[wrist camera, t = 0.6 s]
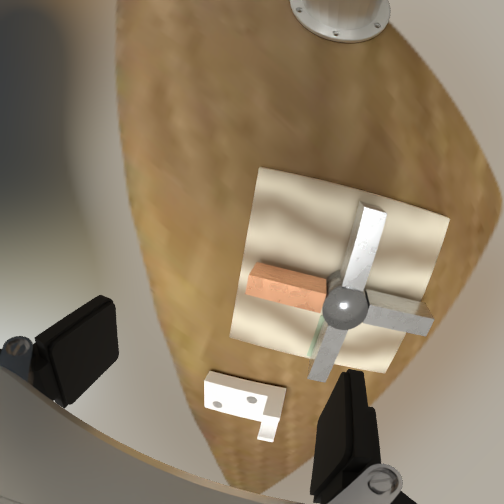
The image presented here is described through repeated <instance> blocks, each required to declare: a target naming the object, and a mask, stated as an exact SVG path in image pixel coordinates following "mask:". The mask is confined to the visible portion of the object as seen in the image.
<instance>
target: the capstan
mask: <svg viewBox="0 0 504 504" xmlns="http://www.w3.org/2000/svg"><path fill="white" fill-rule="evenodd" d="M386 217H387V213H386V212H385V211H384V210H383V209H382V208H381V207H379V206H376V205H372V204H369V203H365V202H362V201H359V205H358V209H357V213H356V217H355V221H354V224H353V228H352V232H351V235H350V239H349V243H348V246H347V250H346V253H345V257H344V260H343V263H342V267H341V270H338V271H335V272H333V273H332V274H330V275H329V276H328V277H327V279H324V278H320V277H316V276H312V275H308V274H304V273H300V272H296V271H291V270H287V269H283V268H279V267H275V266H272V265H268V264H264V263H260V262H256V264H255V265H254V267H253V269H252V270H251V272H250V273H249V276H248V281H247V287H246V292H245V294H247V295H250V296H254V297H258V298H261V299H265V300H269V301H273V302H277V303H281V304H285V305H289V306H293V307H297V308H301V309H305V310H309V311H313V312H317V313H321V310H322V313H323V317H324V322H323V325H322V328H321V330H320V333H319V336H318V339H317V341H316V344H315V347H314V349H313V352H312V355H311V357H310V361H309V369H308V377H307V379H311V380H316V381H320V382H326V380H327V378H328V375H329V373H330V371H331V369H332V367H333V365H334V362H335V360H336V358H337V356H338V353H339V351H340V349H341V346H342V344H343V342H344V339H345V337H346V334H347V332H348V330H349V329H353V328H355V327H357V326H358V325H360V324H361V323H362V322H363V323H364V324H369V325H373V326H378V327H383V328H387V329H392V330H397V331H402V332H407V333H412V334H417V335H422V336H426V335H427V333H428V331H429V329H430V327H431V325H432V323H433V321H434V317H433V316H432V314H431V312H430V310H429V309H428V307H427V305H426V304H425V303H423V302H418V301H414V300H410V299H406V298H402V297H398V296H393V295H389V294H385V293H381V292H377V291H373V290H369V289H366V290H365V292H364V287H365V284H366V282H367V279H368V276H369V273H370V270H371V267H372V264H373V261H374V257H375V254H376V251H377V248H378V245H379V241H380V238H381V235H382V231H383V228H384V224H385V221H386Z"/></svg>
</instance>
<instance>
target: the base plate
mask: <svg viewBox="0 0 504 504" xmlns="http://www.w3.org/2000/svg"><path fill="white" fill-rule="evenodd" d="M359 201H362V202H365V203H369V204H372V205H376V206H379V207H381V208H382V209H383V210H384V211H385V212H386V213H387V217H386V221H385V224H384V228H383V231H382V235H381V238H380V241H379V245H378V248H377V251H376V254H375V257H374V261H373V264H372V267H371V270H370V273H369V276H368V279H367V282H366V284H365V287H364V292H365V290H366V289H369V290H373V291H377V292H381V293H385V294H389V295H393V296H398V297H402V298H406V299H410V300H414V301H418V302H420V301H421V299H422V297H423V294H424V292H425V289H426V287H427V284H428V282H429V279H430V277H431V274H432V271H433V269H434V266H435V263H436V260H437V258H438V255H439V252H440V249H441V246H442V243H443V240H444V237H445V233H446V230H447V227H448V223H449V220H450V218H448V217H446V216H444V215H441V214H438V213H435V212H432V211H429V210H426V209H423V208H420V207H417V206H414V205H411V204H407V203H404V202H401V201H398V200H394V199H391V198H388V197H384V196H381V195H377V194H374V193H370V192H367V191H363V190H359V189H356V188H352V187H348V186H344V185H340V184H336V183H332V182H328V181H324V180H320V179H316V178H312V177H307V176H303V175H298V174H294V173H289V172H284V171H280V170H275V169H270V168H265V167H259V171H258V177H257V182H256V188H255V194H254V199H253V205H252V210H251V216H250V222H249V227H248V233H247V239H246V244H245V250H244V256H243V262H242V267H241V273H240V279H239V285H238V291H237V296H236V302H235V308H234V314H233V320H232V326H231V332H230V338H234V339H237V340H241V341H244V342H248V343H251V344H255V345H258V346H262V347H266V348H270V349H273V350H277V351H281V352H285V353H289V354H293V355H297V356H301V357H306V358H310V357H311V355H312V352H313V349H314V347H315V344H316V341H317V339H318V336H319V333H320V330H321V328H322V325H323V322H324V317H323V313H322V310H321V313H317V312H313V311H309V310H305V309H301V308H297V307H293V306H289V305H285V304H281V303H277V302H273V301H269V300H265V299H261V298H258V297H254V296H250V295H247V294H245V292H246V287H247V281H248V276H249V273H250V272H251V270H252V269H253V267H254V265H255V264H256V262H260V263H264V264H268V265H272V266H275V267H279V268H283V269H287V270H291V271H296V272H300V273H304V274H308V275H312V276H316V277H320V278H324V279H327V277H328V276H329V275H330V274H332V273H333V272H335V271H338V270H341V267H342V263H343V260H344V257H345V253H346V250H347V246H348V243H349V239H350V235H351V232H352V228H353V224H354V221H355V217H356V213H357V209H358V205H359ZM405 334H406V332H402V331H397V330H392V329H387V328H383V327H378V326H373V325H369V324H364V323H363V322H362V323H361V324H360V325H358V326H357V327H355V328H353V329H349V330H348V332H347V334H346V337H345V339H344V342H343V344H342V346H341V349H340V351H339V353H338V356H337V358H336V360H335V362H334V364H337V365H342V366H347V367H352V368H358V369H363V370H368V371H374V372H380V373H385V372H386V370H387V368H388V367H389V365H390V363H391V361H392V359H393V357H394V356H395V354H396V352H397V350H398V348H399V346H400V344H401V342H402V340H403V338H404V336H405Z"/></svg>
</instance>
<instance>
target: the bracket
mask: <svg viewBox="0 0 504 504" xmlns="http://www.w3.org/2000/svg"><path fill="white" fill-rule="evenodd" d="M285 393H286V388H282V387H277V386H272V385H267V384H262V383H258V382H253V381H249V380H244V379H240V378H236V377H232V376H228V375H224V374H220V373H216V372H213V371H209V373H208V375H207V377H206V378H205V380H204V402H205V407H206V408H210V409H213V410H217V411H220V412H224V413H228V414H231V415H235V416H239V417H244V418H248V419H252V420H257V421H261V422H262V423H261V427H260V430H259V434H258V438H257V439H259V440H264V441H269V442H273V440H274V436H275V432H276V428H277V425H278V422H279V420H280V416H281V411H282V407H283V402H284V398H285Z"/></svg>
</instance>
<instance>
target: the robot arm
mask: <svg viewBox="0 0 504 504" xmlns="http://www.w3.org/2000/svg"><path fill="white" fill-rule="evenodd" d="M290 4H291V8H292V11H293V13H294V15H295V17H296V18H297V20H298V21H299V22H300V23H301V24H302V25H303V26H304V27H305V28H307V29H308V30H309V31H310V32H312V33H314V34H316V35H318V36H320V37H323V38H325V39H328V40H332V41H336V42H344V43H357V42H362V41H366V40H369V39H371V38H374V37H375V36H377V35H378V34H380V33H381V32H382V31H383V30H384V29H385V27H386V25H387V23H388V21H389V18H390V5H389V2H388V0H290ZM299 12H301V13H299ZM376 27H377V28H376ZM334 35H338V36H334ZM35 341H36V343H34V344H33V343H32V341H31V340H30V339H29V338H27V337H23V336H16V337H12V338H10V339H8V340H7V341H6V342H5V343H4V345H3V348H2V349H0V504H303V503H298V502H293V501H288V500H283V499H279V498H273V497H269V496H265V495H260V494H256V493H252V492H248V491H245V490H241V489H237V488H234V487H230V486H227V485H223V484H220V483H217V482H213V481H210V480H207V479H204V478H201V477H198V476H195V475H193V474H190V473H187V472H185V471H182V470H179V469H177V468H174V467H172V466H169V465H167V464H165V463H162V462H160V461H158V460H155V459H153V458H151V457H149V456H147V455H144V454H142V453H140V452H138V451H136V450H134V449H132V448H130V447H128V446H126V445H124V444H122V443H120V442H118V441H116V440H114V439H113V438H111V437H109V436H107V435H105V434H104V433H102V432H100V431H98V430H97V429H95V428H93V427H92V426H90V425H88V424H87V423H85V422H83V421H82V420H80V419H79V418H77V417H75V416H74V415H72V414H71V413H69V412H68V411H66V410H65V409H63V408H65V407H66V406H67V405H68V404H73V403H74V402H75V401H76V400H77V399H78V398H79V397H80V396H81V395H82V394H83V393H84V392H85V391H86V390H87V389H88V388H89V387H90V386H91V385H92V384H93V383H94V382H95V381H96V380H97V379H98V378H99V377H100V376H101V375H102V374H103V373H104V372H105V371H106V370H107V369H108V368H109V367H110V366H111V365H112V364H113V363H114V362H115V361H116V360H117V358H118V355H119V348H118V338H117V325H116V308H115V305H114V304H113V301H112V300H111V299H110V298H107V297H105V296H102V295H99V296H97V297H95V298H94V299H92V300H91V301H89V302H87V303H86V304H84V305H83V306H81V307H80V308H78V309H77V310H75V311H74V312H72V313H71V314H69V315H67V316H66V317H64V318H63V319H62V320H60V321H58V322H57V323H55V324H54V325H53V326H51V327H49V328H48V329H46V330H45V331H44V332H42V333H41V334H39V335H38V336H36V337H35ZM53 400H55V402H56V403H57V404H56V403H55V402H53ZM59 405H60V406H59ZM62 407H63V408H62ZM402 485H403V480H402V477H401V475H400V473H399V472H398V471H397V470H396V469H395V468H394V467H392V466H390V465H386V464H381V457H380V446H379V436H378V428H377V420H376V412H375V409H374V408H373V407H368V402H367V394H366V386H365V379H364V373H363V372H362V371H357V370H352V369H348V370H347V372H342V373H341V375H340V377H339V379H338V381H337V383H336V385H335V387H334V390H333V392H332V394H331V396H330V398H329V400H328V402H327V404H326V406H325V408H324V410H323V411H322V413H321V415H320V417H319V420H318V424H317V434H316V444H315V454H314V463H313V471H312V480H311V487H310V495H314V501H313V502H314V503H321V504H417V503H416V502H414V501H413V500H411V499H410V498H409V497H408V496H407V495H405V494H404V493H403V492H402V491H401V489H402Z"/></svg>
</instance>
